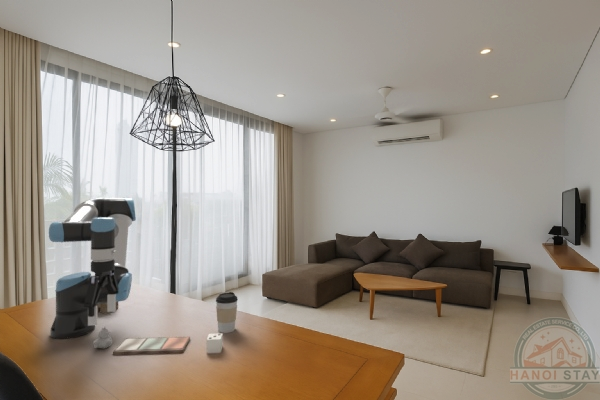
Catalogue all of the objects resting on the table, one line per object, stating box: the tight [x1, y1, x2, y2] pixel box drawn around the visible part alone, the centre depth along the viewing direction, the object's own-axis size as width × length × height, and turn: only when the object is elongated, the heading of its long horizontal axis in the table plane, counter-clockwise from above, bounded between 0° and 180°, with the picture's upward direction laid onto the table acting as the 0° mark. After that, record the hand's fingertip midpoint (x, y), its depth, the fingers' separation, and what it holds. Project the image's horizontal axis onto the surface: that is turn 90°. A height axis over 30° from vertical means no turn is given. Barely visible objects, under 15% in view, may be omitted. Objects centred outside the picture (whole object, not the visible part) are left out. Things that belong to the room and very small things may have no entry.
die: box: [206, 332, 224, 354], centre depth 120 cm, size 5×5×5 cm
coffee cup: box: [215, 291, 238, 334], centre depth 138 cm, size 9×9×15 cm
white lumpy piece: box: [92, 326, 113, 349], centre depth 120 cm, size 5×7×8 cm
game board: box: [112, 336, 191, 356], centre depth 122 cm, size 24×11×1 cm, turn 96°
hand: (102, 318), depth 119 cm, fingers open, 13 cm apart
